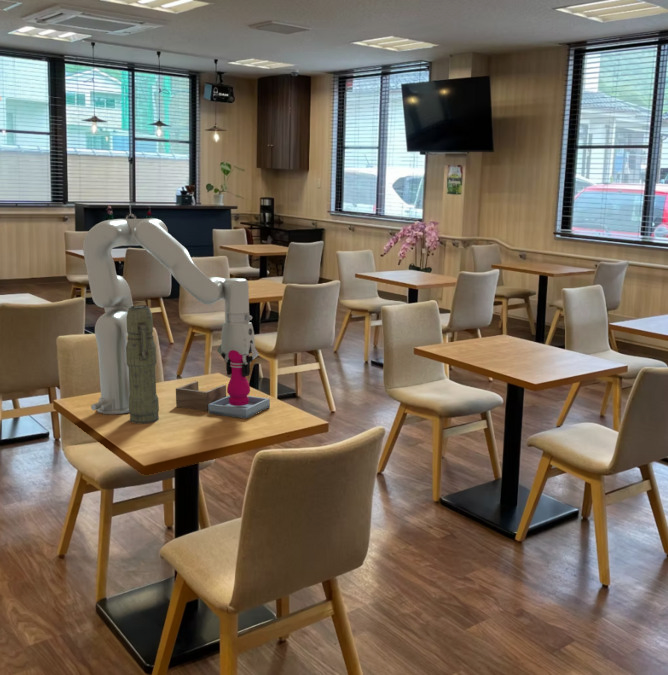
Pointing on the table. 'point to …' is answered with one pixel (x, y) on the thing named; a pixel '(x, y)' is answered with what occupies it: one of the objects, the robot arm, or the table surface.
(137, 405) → the olive piece
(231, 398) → the pepper mill
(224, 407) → the slate tray
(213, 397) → the walnut bay
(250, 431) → the table surface
